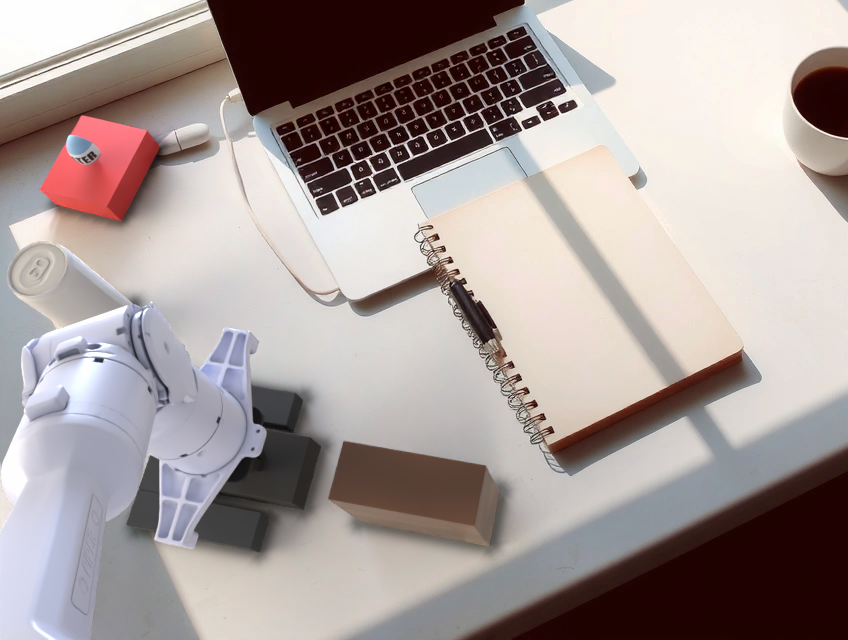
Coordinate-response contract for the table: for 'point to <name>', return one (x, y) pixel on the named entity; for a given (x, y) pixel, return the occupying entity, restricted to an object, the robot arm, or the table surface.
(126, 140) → the red slab
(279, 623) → the table surface
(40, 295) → the beverage can
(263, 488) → the black pad
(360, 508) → the brown wooden brick
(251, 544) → the base pad
